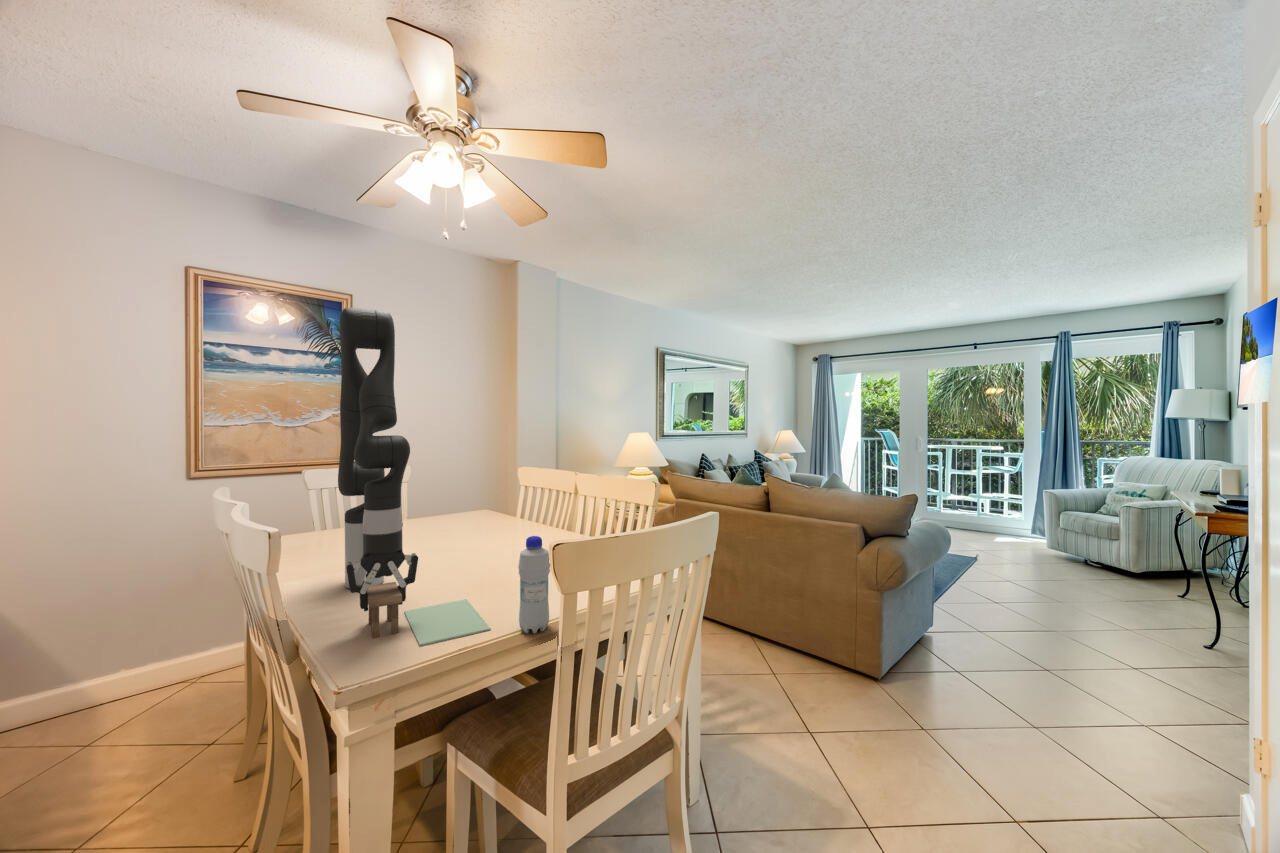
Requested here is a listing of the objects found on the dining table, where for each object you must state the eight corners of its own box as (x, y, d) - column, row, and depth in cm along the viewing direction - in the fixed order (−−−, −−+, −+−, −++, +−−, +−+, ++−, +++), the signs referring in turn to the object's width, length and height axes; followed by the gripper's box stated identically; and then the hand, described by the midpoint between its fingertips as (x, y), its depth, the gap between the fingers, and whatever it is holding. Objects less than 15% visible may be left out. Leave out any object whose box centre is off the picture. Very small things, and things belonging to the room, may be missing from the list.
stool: (365, 622, 109) (365, 586, 109) (395, 616, 112) (395, 581, 112) (369, 639, 101) (369, 600, 101) (401, 633, 104) (401, 595, 104)
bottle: (518, 637, 102) (518, 540, 102) (517, 624, 109) (517, 533, 108) (551, 634, 104) (551, 539, 104) (548, 621, 110) (548, 531, 110)
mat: (404, 612, 115) (404, 611, 115) (466, 600, 122) (466, 599, 122) (419, 646, 98) (419, 644, 98) (490, 630, 106) (490, 628, 106)
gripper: (416, 522, 113) (416, 595, 114) (342, 529, 105) (343, 608, 106) (422, 528, 107) (422, 605, 107) (344, 536, 99) (345, 620, 99)
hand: (383, 606), depth 106 cm, fingers closed on stool, 6 cm apart
